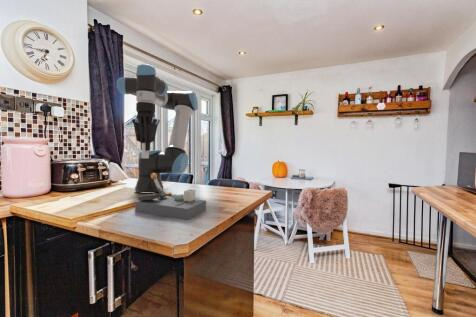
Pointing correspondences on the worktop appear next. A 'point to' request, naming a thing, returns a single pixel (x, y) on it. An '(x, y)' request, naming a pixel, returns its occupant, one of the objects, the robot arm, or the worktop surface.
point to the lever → (158, 185)
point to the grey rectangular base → (171, 207)
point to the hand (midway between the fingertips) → (145, 158)
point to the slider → (189, 195)
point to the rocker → (149, 196)
